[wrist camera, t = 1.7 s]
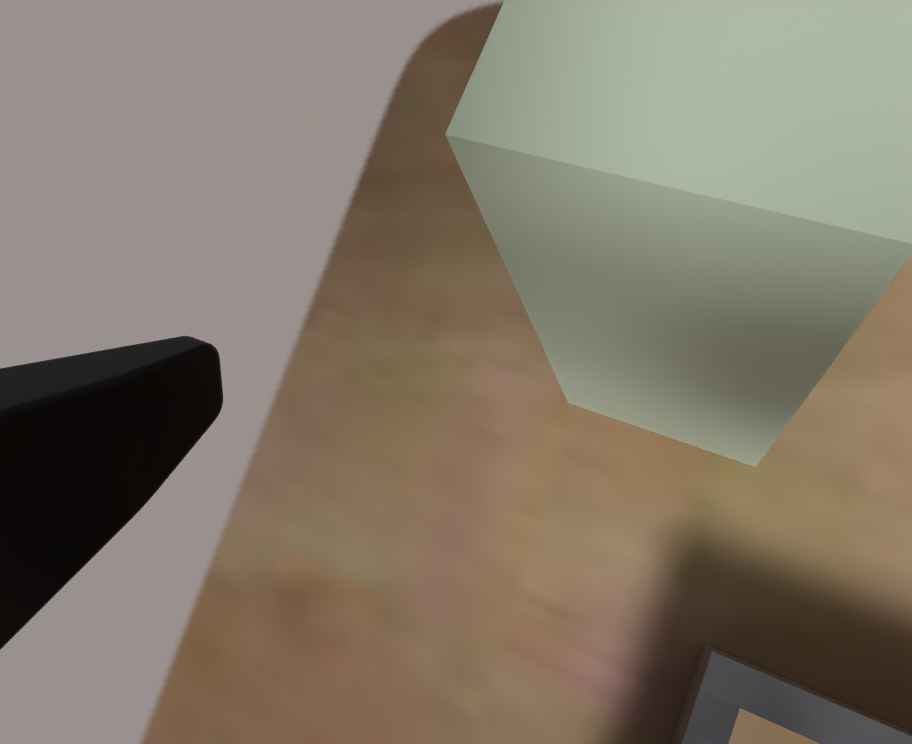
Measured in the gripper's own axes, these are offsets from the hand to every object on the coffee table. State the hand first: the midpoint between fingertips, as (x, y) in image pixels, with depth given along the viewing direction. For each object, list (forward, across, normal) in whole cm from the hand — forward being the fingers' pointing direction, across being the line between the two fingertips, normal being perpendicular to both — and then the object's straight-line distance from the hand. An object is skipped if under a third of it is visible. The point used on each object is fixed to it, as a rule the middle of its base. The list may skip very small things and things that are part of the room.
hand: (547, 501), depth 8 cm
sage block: (+13, 0, +4) cm, 13 cm away
